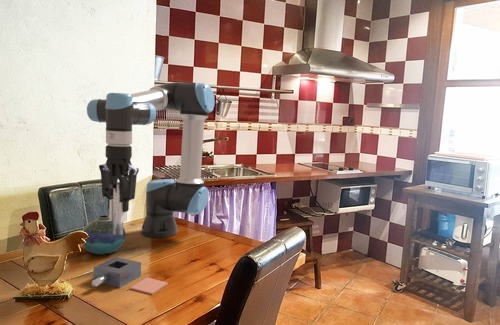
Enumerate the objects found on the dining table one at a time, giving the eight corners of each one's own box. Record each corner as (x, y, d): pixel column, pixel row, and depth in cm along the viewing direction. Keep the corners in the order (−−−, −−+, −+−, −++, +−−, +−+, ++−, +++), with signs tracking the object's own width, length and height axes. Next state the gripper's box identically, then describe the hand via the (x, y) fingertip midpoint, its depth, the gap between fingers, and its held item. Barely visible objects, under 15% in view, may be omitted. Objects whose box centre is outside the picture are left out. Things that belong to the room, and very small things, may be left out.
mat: (146, 278, 124) (146, 277, 124) (168, 284, 122) (168, 282, 121) (130, 288, 117) (130, 287, 117) (152, 294, 114) (152, 293, 114)
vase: (99, 242, 155) (99, 209, 154) (133, 247, 151) (133, 214, 149) (71, 255, 141) (71, 219, 139) (108, 261, 136) (108, 224, 135)
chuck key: (121, 230, 125) (121, 180, 123) (128, 231, 124) (129, 181, 122) (106, 235, 119) (106, 183, 117) (114, 237, 118) (115, 185, 116)
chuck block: (116, 269, 130) (116, 256, 130) (140, 275, 127) (141, 262, 126) (81, 287, 116) (81, 273, 116) (107, 294, 113) (107, 280, 112)
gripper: (88, 143, 118) (88, 219, 121) (132, 147, 112) (131, 227, 115) (106, 142, 125) (106, 214, 128) (148, 146, 119) (147, 221, 122)
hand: (118, 220), depth 121 cm, fingers closed on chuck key, 3 cm apart
